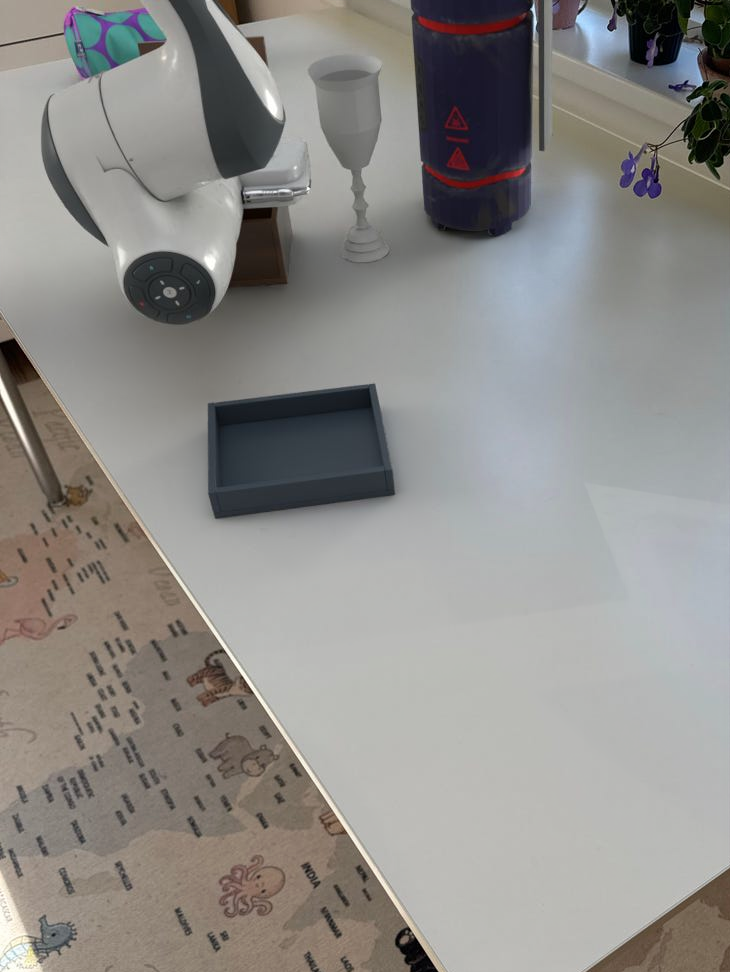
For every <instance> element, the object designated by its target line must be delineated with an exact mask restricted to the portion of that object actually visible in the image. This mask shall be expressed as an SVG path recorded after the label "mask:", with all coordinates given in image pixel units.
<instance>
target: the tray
mask: <svg viewBox="0 0 730 972" xmlns="http://www.w3.org/2000/svg"><path fill="white" fill-rule="evenodd" d="M207 495H208V498H209V502H210V506H211V509H212V513H213V516H214V519H219V518H227V517H228V518H229V517H234V516H242V515H243V516H244V515H250V514H258V513H265V512H272V511H273V512H274V511H280V510H281V511H282V510H288V509H295V508H302V507H311V506H317V505H325V504H335V503H341V502H348V501H356V500H363V499H371V498H378V497H384V496H386V497H387V496H393V495H396V490H395V478H394V470H393V465H392V460H391V455H390V450H389V445H388V439H387V436H386V430H385V424H384V419H383V414H382V410H381V405H380V400H379V395H378V391H377V385H376V383H367V384H357V385H349V386H341V387H332V388H324V389H316V390H315V389H314V390H307V391H300V392H292V393H291V392H289V393H283V394H282V393H281V394H275V395H274V394H273V395H266V396H258V397H249V398H241V399H233V400H225V401H217V402H208V403H207Z"/></svg>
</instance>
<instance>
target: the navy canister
mask: <svg viewBox="0 0 730 972" xmlns="http://www.w3.org/2000/svg"><path fill="white" fill-rule="evenodd" d="M534 4H535V0H410V10H411V11H412V12H413V14H411V29H412V45H413V47H412V48H413V62H414V76H415V77H414V78H415V92H416V94H415V95H416V108H417V123H418V124H417V125H418V138H419V140H418V141H419V154H420V155H419V156H420V162H421V163H422V165H421V179H422V180H421V181H422V195H423V197H422V198H423V210H424V212H425V214H426V215H427V216H428V217H429V219H430V223H431V224H432V225H433V227H434V228H436V229H437V230H438V231H444V230H446V227H447V228H451V229H454V230H460V231H471V232H473V231H474V232H475V231H487V230H488V234H489V235H490V236H492V237H497V236H500V235H504V234H506V233H509V232H510V231H511V230H513V222H516V221H518V220H519V219H521V218H523V217H524V216H525V215H526V214H527V213H528V212H529V210H530V208H531V205H532V162H531V161H532V158H533V113H534V112H533V111H534V110H533V108H534V107H533V106H534V105H533V103H534V99H533V97H534V38H535V37H534V32H535V31H534V30H535V29H534V28H535V27H534V24H535V23H534V22H535V14H534V12H533V10H532V9H533V7H534ZM553 5H554V3H553V0H537V10H538V11H537V13H538V14H537V17H538V19H537V21H538V22H537V23H538V26H537V27H538V28H537V31H538V32H537V33H538V36H537V37H538V40H537V41H538V151H539V152H545V151H546V149H548V146H549V144H550V142H551V140H552V138H553Z"/></svg>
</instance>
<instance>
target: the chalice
mask: <svg viewBox="0 0 730 972" xmlns="http://www.w3.org/2000/svg"><path fill="white" fill-rule="evenodd" d="M382 67H383V62H382V61H381V60H380V59H379V58H377V57H375V56H372V55H369V54H362V53H344V54H336V55H332V56H327V57H324V58H321V59H319V60H316V61H315V62H313V63H311V64H310V65H309V66H308V68H307V74H308V76H309V77H310V79H311V80H312V82H313V84H314V88H315V95H316V104H317V111H318V120H319V125H320V128H321V131H322V133H323V135H324V137H325V140H326V142H327V144H328V146H329V148H330V150H332V153H333V154H334V156H335V157H336V159H337V161H338V162H339V165H341V167H342V168H343V169H345V170H349V171H350V172H351V176H352V180H351V185H350V187H349V188H350V191H351V192H352V193H353V196H354V201H353V203H352V205H351V208H352V209H353V211H355V215H356V223H355V224H354V225H353V226H351V227H350V228H349V229H348V230H347V232H346V234H345V238H344V241H343V246H342V249H341V251H340V254H341V256H342V257H343V258H344V259H345V260H348V261H349V262H353V263H373V262H375V261H379V260H382V259H383V258H384V257H386V256H387V254H389V251H390V248H389V246H388V244H387V243H386V242H385V238H384V236H382V233H381V231H380V230H379V228H377V226H375V225H373V224H371V223H370V222H369V221H368V220H367V217H366V216H367V215H366V214H367V209H368V208H369V206H370V205H369V203H368V202H367V201H366V200H365V197H364V195H365V190H366V188H367V186H366V185H365V183H364V181H363V178H362V171H363V169H364V168H366V167H367V166H369V165H370V163H371V159H372V156H373V154H374V150H375V148H376V145H377V142H378V139H379V135H380V129H381V124H382V109H381V97H380V87H379V85H380V84H379V76H380V73H381V70H382Z"/></svg>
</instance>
